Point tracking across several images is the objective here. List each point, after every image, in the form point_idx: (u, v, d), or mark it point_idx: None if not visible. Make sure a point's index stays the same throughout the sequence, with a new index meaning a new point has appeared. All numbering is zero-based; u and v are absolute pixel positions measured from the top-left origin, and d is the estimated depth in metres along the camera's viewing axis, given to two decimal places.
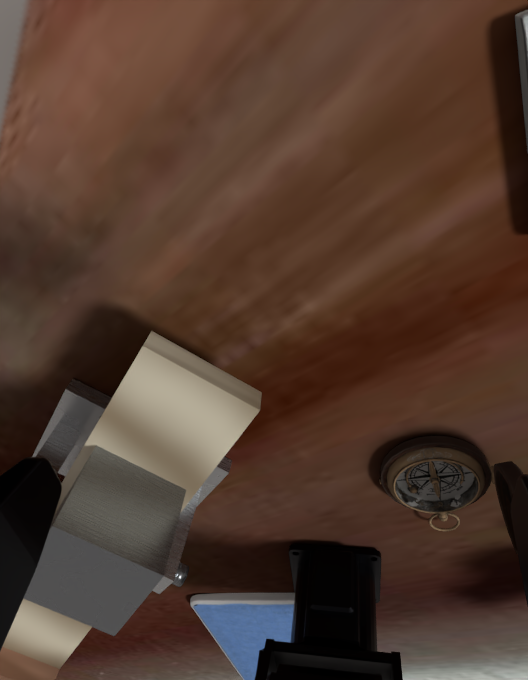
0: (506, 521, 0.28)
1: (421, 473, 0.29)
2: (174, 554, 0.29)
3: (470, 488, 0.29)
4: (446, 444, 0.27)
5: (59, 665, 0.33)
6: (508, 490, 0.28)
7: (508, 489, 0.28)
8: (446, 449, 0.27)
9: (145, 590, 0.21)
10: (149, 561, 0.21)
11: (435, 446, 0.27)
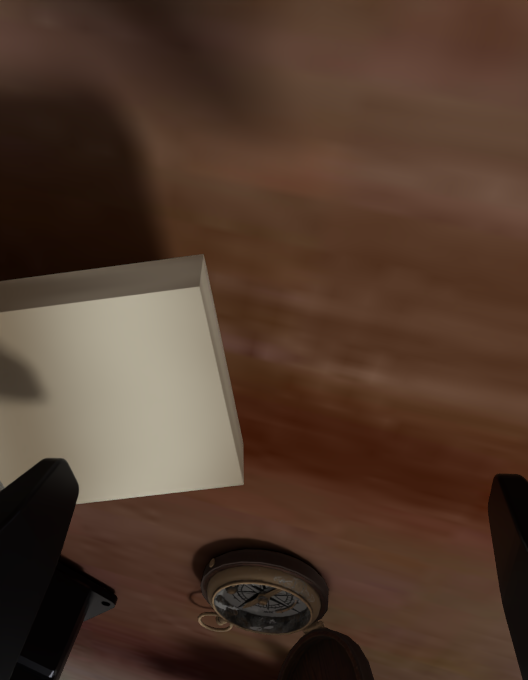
0: (284, 672, 0.24)
1: (258, 584, 0.23)
2: None
3: (276, 618, 0.25)
4: (319, 588, 0.22)
5: None
6: (310, 647, 0.25)
7: (312, 646, 0.25)
8: (314, 592, 0.22)
9: None
10: None
11: (309, 584, 0.22)
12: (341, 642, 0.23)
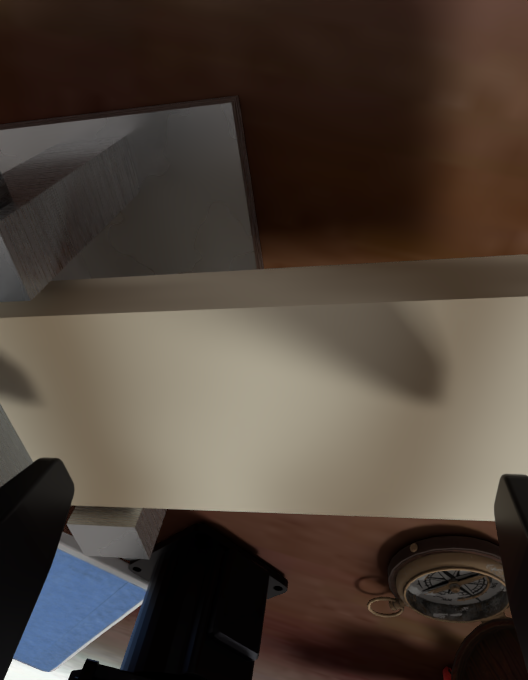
0: (460, 660, 0.25)
1: (452, 572, 0.23)
2: None
3: (452, 606, 0.25)
4: None
5: None
6: (486, 636, 0.25)
7: (488, 636, 0.25)
8: None
9: None
10: None
11: None
12: None
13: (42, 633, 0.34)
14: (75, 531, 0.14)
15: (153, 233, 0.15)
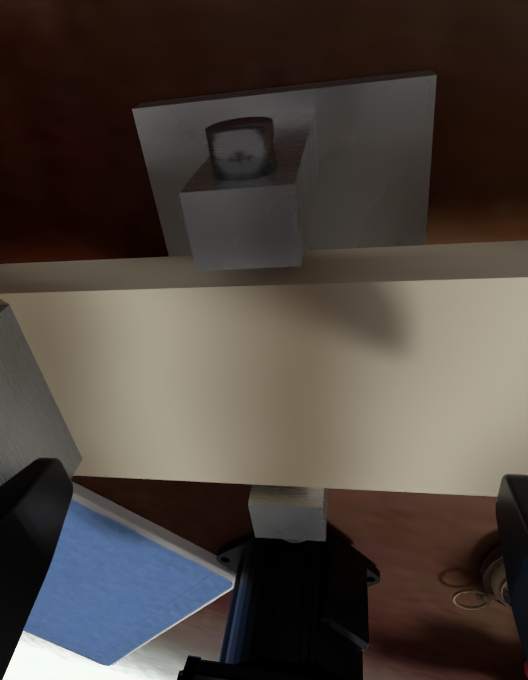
0: None
1: None
2: (326, 489, 0.15)
3: None
4: None
5: None
6: None
7: None
8: None
9: None
10: None
11: None
12: None
13: (110, 625, 0.34)
14: (255, 511, 0.13)
15: (323, 211, 0.15)
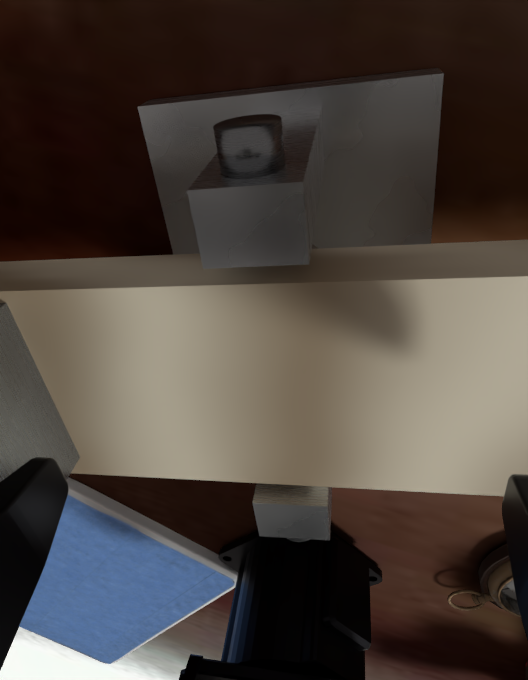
0: None
1: None
2: (330, 488, 0.15)
3: None
4: None
5: None
6: None
7: None
8: None
9: None
10: None
11: None
12: None
13: (112, 624, 0.34)
14: (259, 510, 0.13)
15: (328, 210, 0.15)
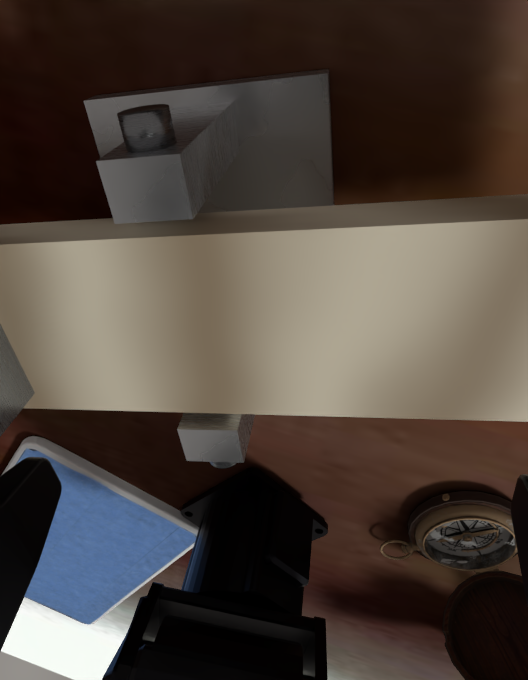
0: (453, 602, 0.28)
1: (469, 524, 0.27)
2: (249, 423, 0.17)
3: (454, 556, 0.28)
4: None
5: None
6: (477, 585, 0.28)
7: (479, 585, 0.28)
8: None
9: None
10: None
11: None
12: None
13: (89, 583, 0.37)
14: (183, 436, 0.16)
15: (246, 188, 0.17)
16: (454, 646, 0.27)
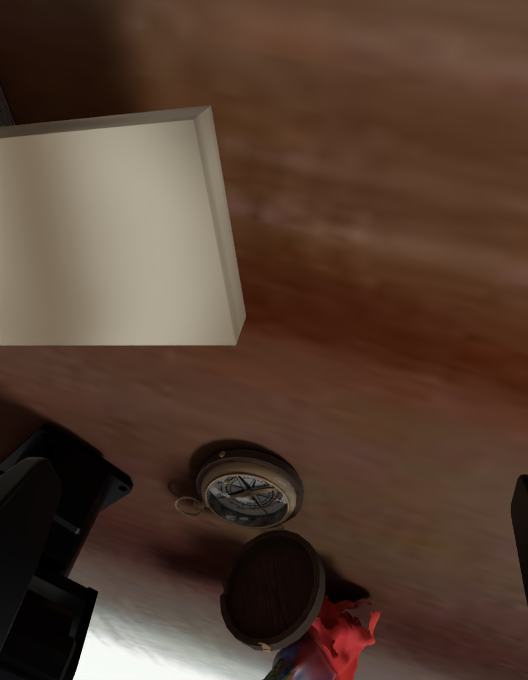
0: (238, 558, 0.29)
1: (249, 482, 0.28)
2: None
3: (244, 515, 0.30)
4: (301, 496, 0.27)
5: None
6: (265, 543, 0.30)
7: (266, 543, 0.30)
8: (296, 498, 0.27)
9: None
10: None
11: (296, 490, 0.27)
12: (301, 542, 0.28)
13: None
14: None
15: None
16: (230, 599, 0.28)
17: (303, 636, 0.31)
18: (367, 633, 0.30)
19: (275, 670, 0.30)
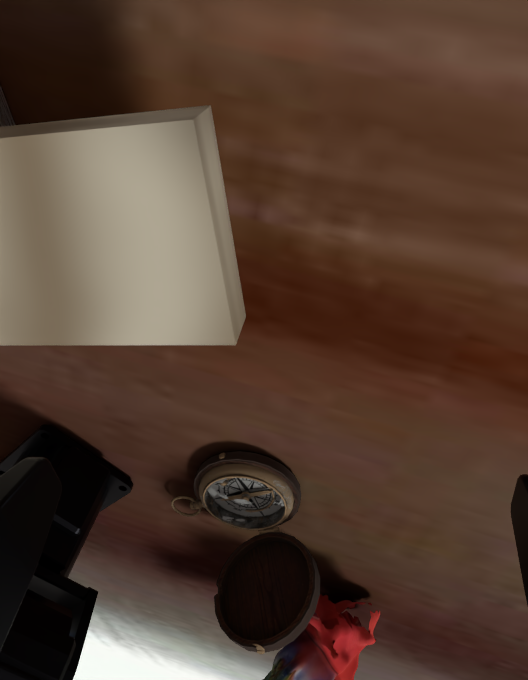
0: (233, 558, 0.29)
1: (248, 484, 0.28)
2: None
3: (241, 516, 0.30)
4: (298, 499, 0.28)
5: None
6: (260, 545, 0.30)
7: (261, 545, 0.30)
8: (294, 501, 0.28)
9: None
10: None
11: (294, 493, 0.27)
12: (297, 544, 0.28)
13: None
14: None
15: None
16: (224, 599, 0.28)
17: (303, 636, 0.31)
18: (367, 633, 0.30)
19: (275, 670, 0.30)
